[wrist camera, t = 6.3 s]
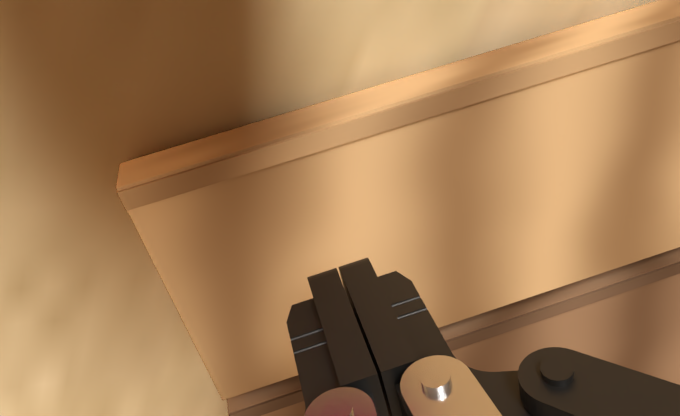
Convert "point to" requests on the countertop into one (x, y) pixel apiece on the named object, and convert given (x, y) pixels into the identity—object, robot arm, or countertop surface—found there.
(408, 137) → the oak plank
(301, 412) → the walnut board
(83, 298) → the countertop surface
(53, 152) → the countertop surface
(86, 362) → the countertop surface
